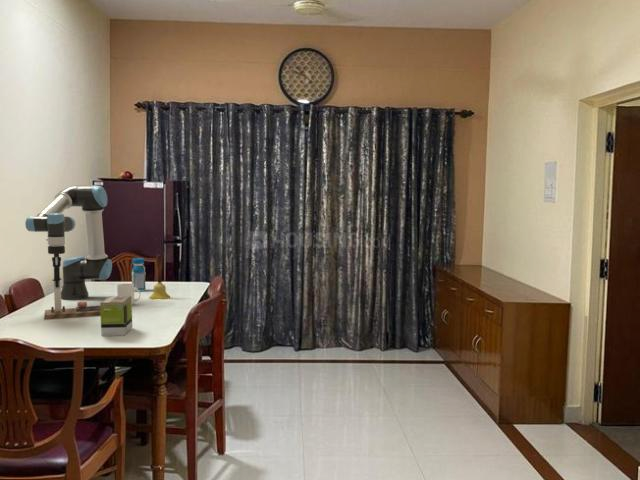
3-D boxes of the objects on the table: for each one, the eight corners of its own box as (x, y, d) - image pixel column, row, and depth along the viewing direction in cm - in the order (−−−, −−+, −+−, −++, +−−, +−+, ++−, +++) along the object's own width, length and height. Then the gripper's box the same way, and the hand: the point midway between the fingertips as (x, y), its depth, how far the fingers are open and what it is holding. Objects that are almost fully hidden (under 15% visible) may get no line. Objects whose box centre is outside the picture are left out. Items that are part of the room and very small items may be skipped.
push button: (77, 306, 294) (77, 303, 293) (77, 305, 298) (77, 301, 298) (87, 306, 295) (87, 302, 295) (86, 304, 299) (86, 301, 299)
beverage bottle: (138, 292, 365) (137, 259, 364) (128, 290, 369) (128, 258, 368) (148, 290, 372) (148, 258, 371) (139, 289, 377) (139, 257, 375)
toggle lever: (54, 310, 291) (54, 290, 287) (54, 309, 292) (54, 288, 288) (61, 310, 292) (60, 289, 289) (61, 308, 293) (60, 288, 290)
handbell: (173, 296, 352) (173, 254, 350) (166, 299, 339) (165, 256, 338) (153, 295, 353) (153, 253, 351) (145, 299, 341) (144, 255, 339)
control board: (44, 319, 284) (44, 310, 283) (45, 313, 297) (45, 305, 296) (123, 314, 298) (123, 305, 297) (121, 309, 311) (121, 300, 310)
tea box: (109, 328, 266) (109, 295, 265) (133, 328, 267) (132, 295, 266) (100, 336, 251) (99, 301, 250) (124, 336, 252) (124, 301, 251)
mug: (138, 305, 321) (138, 286, 320) (115, 305, 320) (115, 286, 319) (142, 302, 329) (141, 283, 328) (119, 303, 328) (119, 283, 327)
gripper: (48, 244, 293) (49, 292, 295) (47, 246, 281) (48, 296, 283) (64, 244, 296) (65, 291, 298) (64, 246, 284) (65, 295, 286)
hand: (57, 293), depth 291 cm, fingers closed
